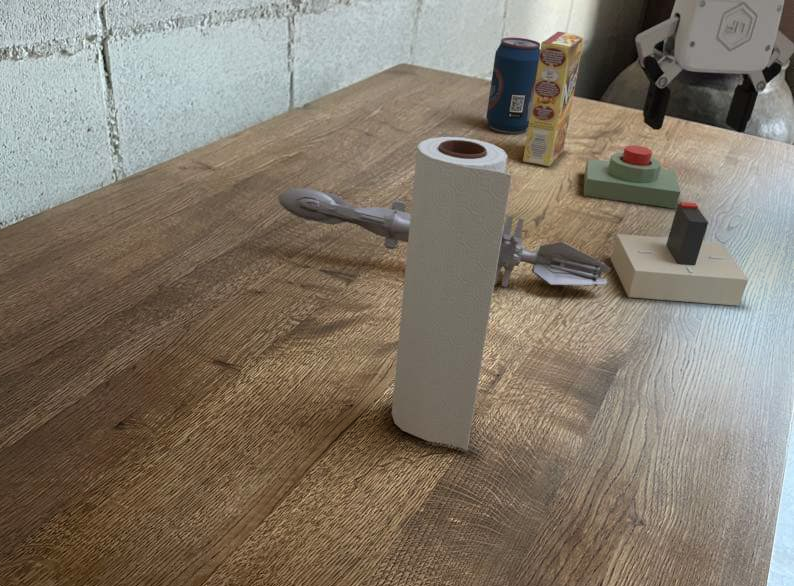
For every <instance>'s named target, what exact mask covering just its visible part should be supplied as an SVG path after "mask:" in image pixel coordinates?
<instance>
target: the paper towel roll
mask: <svg viewBox="0 0 794 586" xmlns="http://www.w3.org/2000/svg"><path fill="white" fill-rule="evenodd" d="M507 162H508V154H507V153H506V151H505V150H504V149H503V148H501V147H499V146H497V145H495V144H493V143H490V142H486V141H482V140H479V139H473V138H467V137H461V136H460V137H457V136H440V137H432V138H431V137H429V138H427V139H425V140H422V141H420V143H419V144H418V145H417V147H416V155H415V164H414V165H415V166H414V176H413V177H414V178H413V187H412V188H413V189H412V197H411V207H410V208H411V209H410V214H411V217H410V227H409V238H408V242H407V248H406V250H407V251H406V259H405V260H406V261H405V271H404V280H403V290H402V299H401V300H402V301H401V313H400V320H399V321H400V322H399V332H398V333H399V334H398V344H397V354H396V364H395V374H394V383H393V395H392V405H391V417H392V420H393V422H394V425H396V426H397V427H398V428H399V429H400V430H401V431H403V432H405V433H407V434H410V435H411V436H414V437H417V438H419V439H422V440H423V441H426V442H429V443H436V444H437V443H438V444H443V445H444V444H445V445H449V446H453V447H457V448H460V449H462V450H464V451H466V452H467V451H468V449H469V443H470V436H471V431H472V425H473V418H474V413H475V407H476V406H475V405H476V401H477V400H476V399H477V393H478V388H479V387H478V386H479V381H480V377H481V368H482V363H483V357H484V350H485V344H486V340H487V339H486V338H487V332H488V327H489V321H490V320H489V319H490V313H491V307H492V301H493V295H494V289H495V284H494V283H495V277H496V271H497V265H498V259H499V252H500V246H501V240H502V234H503V231H504V227H505V223H506V222H505V221H506V214H507V208H508V204H509V203H508V202H509V196H510V189H511V184H512V179H513V174H509V173H506V168H507Z"/></svg>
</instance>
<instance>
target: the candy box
mask: <svg viewBox="0 0 794 586" xmlns="http://www.w3.org/2000/svg"><path fill="white" fill-rule="evenodd" d="M584 41H585V35H583V34H582V35H581V34H576V33H570V32H564V31H557V32H555V33H554V34H552V35H551V36H549V38H547V39H545V40H543V41H541V43H540V55H539V62H538V68H537V74H536V81H535V87H534V94H533V101H532V107H531V113H530V120H529V126H528V128H527V133H526V139H525V146H524V152H523V153H524V154H523V158H522V162H524V163H528V164H535V165H540V166H545V167H550V166H551V165H552V164H553V163H554V161H556V160H557V159H558V158H559V156H560V155H561V154H562V153H563V152H564V150H565V144H566V139H567V134H568V133H567V132H568V128H569V122H570V117H571V111H572V106H573V100H574V94H575V90H576V89H575V88H576V83H577V80H578V79H577V78H578V72H579V67H580V63H581V62H580V61H581V57H582V52H583V45H584Z"/></svg>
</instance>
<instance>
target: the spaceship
mask: <svg viewBox="0 0 794 586" xmlns="http://www.w3.org/2000/svg"><path fill="white" fill-rule="evenodd" d="M278 202H279V204H280V205H281V206H282V208H284V209H285V210H286V211H287V212H289V213H291V214H293V215H294V216H296V217H298V218H302V219H304V220H308V221H313V222H317V223H322V224H327V225H331V226H333V225H338V224H342V223H349V224H353V225H357V226H359V227H361V228H363V229H364V230H366V231H368V232H369V233H372V234H374V235H376V236H379V237H383V238H385V240H384V242H383V246H385V248H386V249H391V250H394V249H398V246H399V242H403V243H408V238H409V227H410V217H411V213H409V212H406V209H407V206H406V203H405V202H404V201H403V200H398V199H395V200H393V202H392V205H391V208H388V207H384V206H373V207H372V206H370V207H359V206H355V205H351V204H349V203H347V202H346V201H345V200H344V199H342V198H341V197H340V196H338V195H336V194H333V193H328V192H324V191H319V190H316V189H312V188H307V187H292V188H288V189H285V190H283V191H282V192H280V193H279V195H278ZM505 221H506V222H505V223H504V228H503V234H502V240H501V246H500V252H499V259H498V265H497V271H496V277H495V283H494V285H497V283H498V280H499V277H500V274H501V271H502V269H504V271H503V276H502V281H501V287H505V288H507V287H508V284H509V280H510V278H511V276H512V272H513V271H514V272H515V271H516V270H515V269H514V268H515V267H519V266H520V264H521V263H526V264H529V265H532V269H531V273H533V274H534V275H535V276H536V277H537V278H539V279H540V280H541V281H543V282H544V283H545V284H547V285H550V286H587V287H588V286H592V285H594V286H595V287H598V286H599V285H607V284H608V280H607V279H606V278H604V277H602V273H610V272H611V270H612V268H611V267H610V266H608V265H606V264H605V262H604V261H599V259H598V258H595V257H594V256H591V255H590V254H588V253H586V252H584V251H582V250H580V249H578V248H576V247H575V246H572V245H570V244H569V243H567V242H565V241H563V240H562V241H556V242H552V243H547V244H541V245H538V246H537V249H536V251H532V250H527V249H524V248H525V244H524V243H522V240H524V238H523V237H522V232H523V227H524V222H525V220H524V219H522V218H518V220H517V222H516V226H515V229H514V232H513V235H511V232H512V227H513V222H514V217H513V216H509V215H508V216H507V218H506V220H505Z"/></svg>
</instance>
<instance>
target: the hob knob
mask: <svg viewBox="0 0 794 586" xmlns="http://www.w3.org/2000/svg"><path fill="white" fill-rule="evenodd" d="M708 225H709V221H708V220H707V218H706V216H705V215H704V214H703V213H702V211H701V210H700V209H699V206H698V204H697V203H695V202H687V201H686V202H685V201H684V202H683V201H680V202H679V203H677V206H676V208H675V213H674V217H673V221H672V223H671V225H670V226H671V227H670V231H669V234H668V237H667V238H668V240H667V244H666V246H667V247H668V249H669V251H670V252H671V254H672V256H673V257H674V259H675V261H676V262H677V264H689V265H695V264H696V261H697V258H698V255H699V251H700V248H701V245H702V242H703V241H704V239H705V235H706V231H707V230H708Z"/></svg>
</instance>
